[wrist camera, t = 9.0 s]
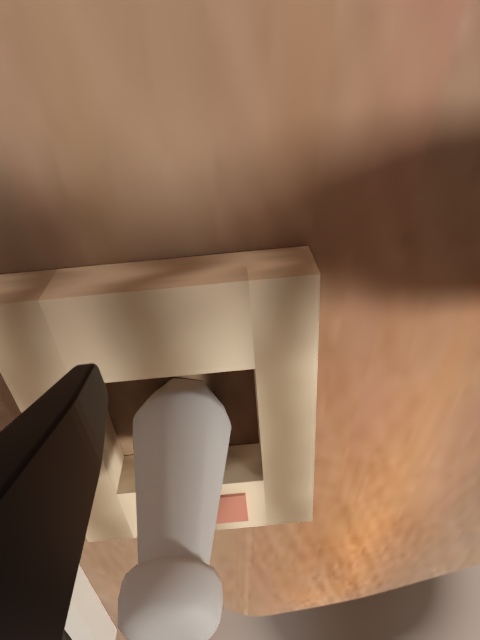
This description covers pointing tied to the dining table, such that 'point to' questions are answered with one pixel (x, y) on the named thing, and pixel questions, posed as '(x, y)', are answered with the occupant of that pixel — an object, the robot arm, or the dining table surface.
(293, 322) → the maple frame
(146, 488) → the salt shaker
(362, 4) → the dining table surface
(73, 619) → the white rectangular tray
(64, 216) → the dining table surface
